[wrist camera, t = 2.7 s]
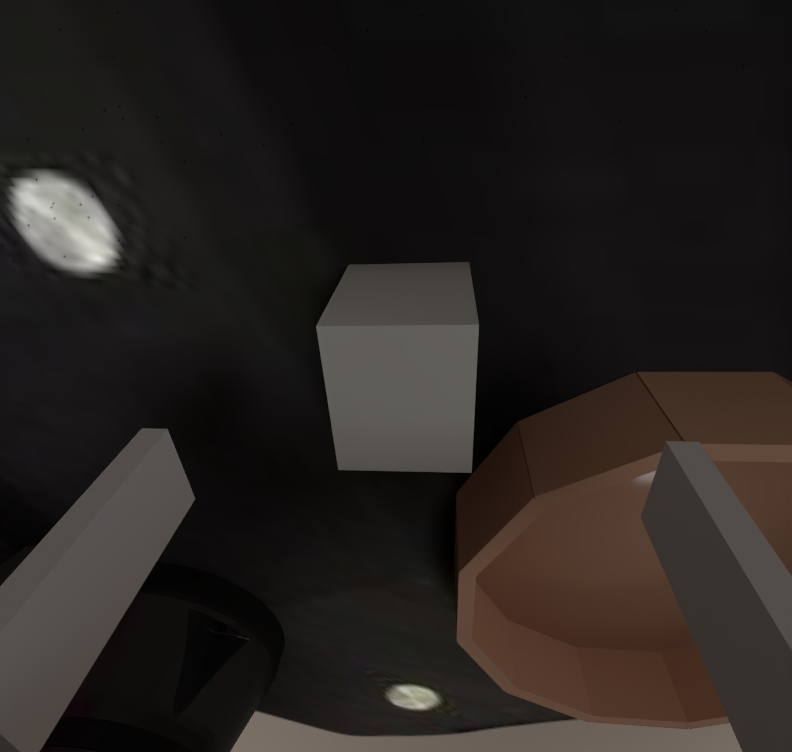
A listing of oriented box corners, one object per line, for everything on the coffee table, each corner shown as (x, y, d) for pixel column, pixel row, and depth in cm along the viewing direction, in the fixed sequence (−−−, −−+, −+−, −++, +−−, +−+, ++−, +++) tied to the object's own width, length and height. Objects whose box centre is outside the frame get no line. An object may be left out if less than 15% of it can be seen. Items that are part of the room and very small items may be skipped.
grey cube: (361, 384, 23) (338, 469, 18) (348, 264, 20) (316, 326, 14) (464, 384, 22) (471, 472, 17) (468, 261, 19) (478, 324, 14)
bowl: (452, 632, 33) (454, 712, 29) (459, 371, 22) (463, 440, 17) (780, 650, 31) (834, 739, 27) (975, 371, 20) (1123, 450, 15)
